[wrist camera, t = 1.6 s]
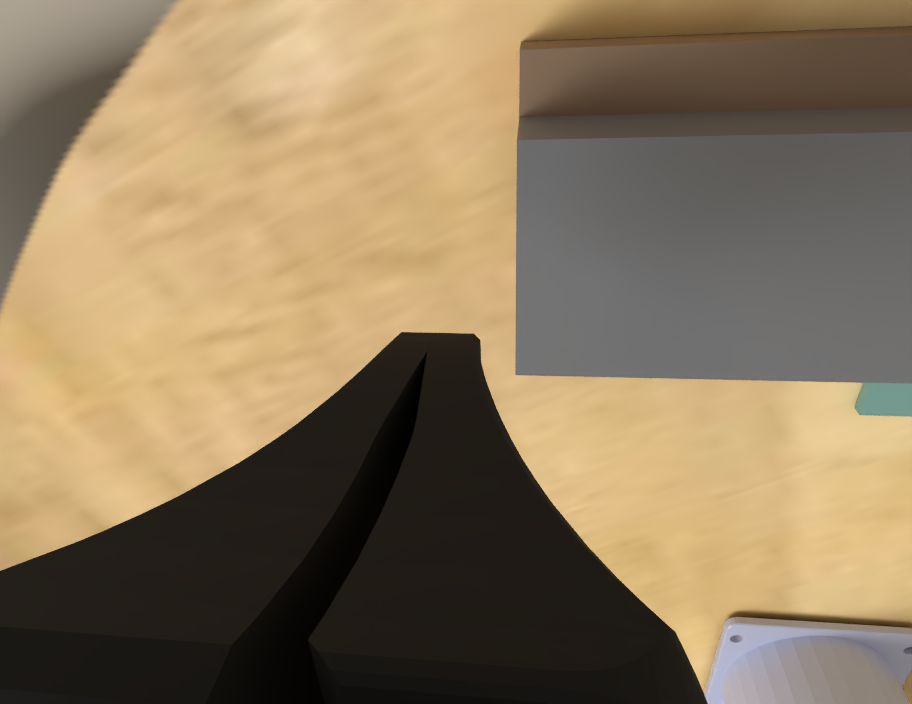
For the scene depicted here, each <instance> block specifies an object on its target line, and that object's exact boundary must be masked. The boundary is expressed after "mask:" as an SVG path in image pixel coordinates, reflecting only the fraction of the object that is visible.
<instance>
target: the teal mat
mask: <svg viewBox="0 0 912 704" xmlns="http://www.w3.org/2000/svg"><path fill="white" fill-rule="evenodd" d="M855 409H856V410H857V412H858V413H859V415H878V416H912V384H908V383H863V385H862V388H861V391H860V394H859V397H858V399H857V402H856V405H855Z"/></svg>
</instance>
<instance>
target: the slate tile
mask: <svg viewBox="0 0 912 704" xmlns="http://www.w3.org/2000/svg"><path fill="white" fill-rule="evenodd" d="M516 375H538V376H584V377H630V378H676V379H723V380H769V381H815V382H861V383H908V384H912V107H886V108H847V109H808V110H769V111H729V112H690V113H651V114H612V115H573V116H533V117H519V126H518V136H517V231H516Z"/></svg>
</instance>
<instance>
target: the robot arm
mask: <svg viewBox="0 0 912 704" xmlns="http://www.w3.org/2000/svg"><path fill="white" fill-rule="evenodd" d="M911 670H912V628H906V627H890V626H874V625H858V624H843V623H827V622H811V621H795V620H779V619H764V618H748V617H732V618H729V619H728V620H726V622H725V623H724V626H723V630H722V633H721V637H720V640H719V644H718V647H717V651H716V654H715V658H714V661H713V665H712V668H711V672H710V675H709V679H708V682H707V686H706V689H705V693H703V691H702V688H701V686H700V684H699V681H698V679H697V677H696V674H695V672H694V670H693V668H692V666H691V664H690V661H689V659H688V657H687V655H686V653H685V651H684V649H683V647H682V645H681V643H680V641H679V639H678V637H677V635H676V633H675V631H674V630H672V629H671V628H670V627H669V626H668V625H667V624H666V623H665V622H663V621H662V620H661V619H660V618H659V617H658V616H657V615H656V614H655V613H654V612H652V611H651V610H650V609H649V608H648V607H647V606H646V605H645V604H644V603H643V602H641V601H640V600H639V599H638V598H637V597H636V596H635V595H634V594H633V593H632V592H631V591H630V590H629V589H628V588H627V587H626V586H625V585H624V584H623V583H622V582H621V581H620V580H619V579H618V578H617V577H616V576H615V575H614V574H613V573H612V572H611V571H610V570H609V569H608V568H607V567H606V566H605V564H604V563H603V562H602V561H601V560H600V559H599V558H598V557H597V556H596V555H595V554H594V553H593V552H592V551H591V550H590V549H589V547H588V546H587V545H586V544H585V543H584V541H583V540H582V539H581V538H580V537H579V535H578V534H577V533H576V532H575V531H574V529H573V528H572V527H571V526H570V524H569V523H568V522H567V521H566V520H565V518H564V517H563V516H562V515H561V514H560V512H559V511H558V510H557V509H556V507H555V506H554V505H553V504H552V502H551V501H550V500H549V498H548V497H547V495H546V494H545V493H544V491H543V490H542V488H541V487H540V485H539V484H538V483H537V481H536V480H535V478H534V477H533V475H532V474H531V472H530V470H529V469H528V467H527V466H526V464H525V462H524V461H523V459H522V458H521V456H520V454H519V452H518V451H517V449H516V447H515V445H514V443H513V442H512V440H511V438H510V436H509V434H508V432H507V430H506V428H505V426H504V424H503V422H502V420H501V418H500V415H499V413H498V411H497V409H496V406H495V404H494V401H493V399H492V396H491V393H490V391H489V388H488V385H487V382H486V379H485V376H484V372H483V368H482V364H481V346H480V339H479V338H478V337H476V336H475V335H474V334H458V333H411V332H401V333H400V334H399V335H398V336H397V337H396V338H395V339H394V340H393V341H391V342H390V343H389V344H388V345H387V346H386V347H385V348H384V349H383V350H382V351H381V352H380V353H379V354H378V355H377V356H376V357H375V358H373V359H372V360H371V361H370V362H369V363H368V364H367V365H366V366H365V367H364V368H363V369H362V370H361V371H360V372H359V373H358V374H356V375H355V376H354V377H353V378H352V379H351V380H350V381H349V382H348V383H346V384H345V385H344V386H343V387H342V388H341V389H340V390H339V391H338V392H336V393H335V394H334V395H333V396H331V397H330V398H329V399H328V400H326V401H325V402H324V403H323V404H321V405H320V406H319V407H318V408H317V409H315V410H314V411H313V412H312V413H310V414H309V415H308V416H307V417H305V418H304V419H303V420H302V421H300V422H299V423H298V424H296V425H295V426H294V427H292V428H291V429H290V430H288V431H287V432H285V433H284V434H282V435H281V436H280V437H278V438H277V439H275V440H274V441H272V442H271V443H269V444H268V445H266V446H265V447H263V448H262V449H260V450H258V451H257V452H255V453H254V454H252V455H251V456H249V457H248V458H246V459H244V460H243V461H241V462H239V463H238V464H236V465H235V466H233V467H231V468H229V469H227V470H225V471H224V472H222V473H220V474H218V475H216V476H215V477H213V478H211V479H209V480H207V481H205V482H204V483H202V484H200V485H198V486H196V487H195V488H193V489H191V490H189V491H187V492H185V493H184V494H182V495H180V496H178V497H176V498H174V499H172V500H170V501H168V502H166V503H164V504H162V505H160V506H158V507H155V508H153V509H151V510H149V511H147V512H145V513H143V514H141V515H139V516H136V517H134V518H132V519H130V520H127V521H125V522H123V523H121V524H118V525H116V526H114V527H112V528H109V529H107V530H105V531H103V532H100V533H98V534H95V535H93V536H91V537H88V538H86V539H83V540H81V541H78V542H76V543H73V544H71V545H68V546H65V547H63V548H60V549H57V550H55V551H52V552H49V553H47V554H44V555H41V556H39V557H36V558H33V559H31V560H28V561H26V562H23V563H20V564H18V565H15V566H12V567H10V568H7V569H4V570H2V571H0V704H910V702H909V700H908V698H907V696H906V694H905V692H904V690H903V688H902V686H903V684H904V682H905V681H906V679H907V677H908V675H909V674H910V672H911Z"/></svg>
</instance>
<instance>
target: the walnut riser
mask: <svg viewBox="0 0 912 704" xmlns="http://www.w3.org/2000/svg"><path fill="white" fill-rule="evenodd" d="M886 107H912V26H908V27H882V28H857V29H831V30H806V31H780V32H755V33H729V34H704V35H678V36H653V37H627V38H602V39H576V40H551V41H525V42H521V47H520V104H519V117H533V116H573V115H612V114H651V113H690V112H729V111H769V110H808V109H847V108H886Z"/></svg>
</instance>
